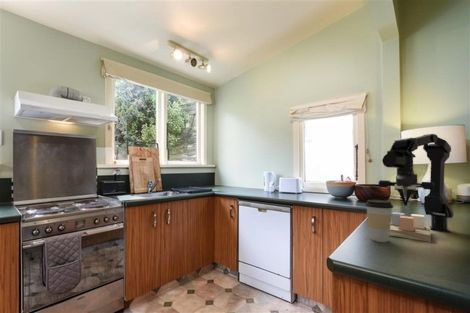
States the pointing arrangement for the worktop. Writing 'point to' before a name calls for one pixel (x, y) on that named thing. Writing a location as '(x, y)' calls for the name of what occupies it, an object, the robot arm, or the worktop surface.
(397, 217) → the slate-blue button
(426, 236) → the panel
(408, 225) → the salmon pink block
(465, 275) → the worktop surface
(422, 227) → the cream button
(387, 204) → the coffee cup
